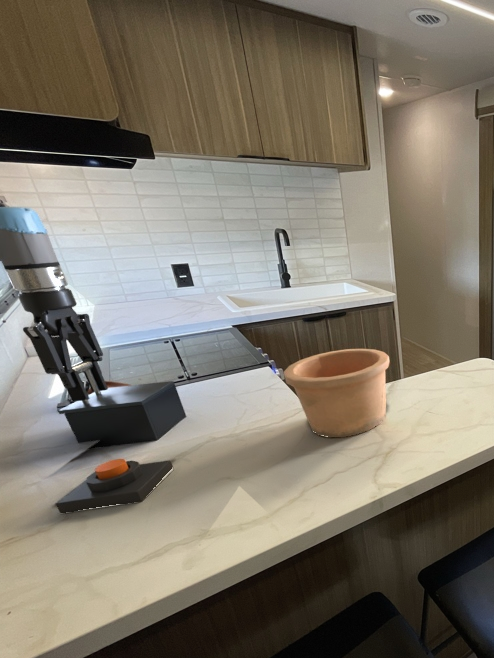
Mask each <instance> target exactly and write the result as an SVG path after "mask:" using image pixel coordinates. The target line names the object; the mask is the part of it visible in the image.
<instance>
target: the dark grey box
mask: <svg viewBox="0 0 494 658" xmlns="http://www.w3.org/2000/svg"><path fill="white" fill-rule="evenodd" d="M63 415H64V417H65V419H66V421H67V423H68V425H69V427H70V429H71V432H72V434H73V436H74V438H75V440H76V441H77V443H78V444H81V443H83V444H84V443H89V442H95V443H94V444H92V445H91V446H90V447H88V448H87V450H95V449H101V448H103V449H104V448H110V447H118V446H123V445H124V446H125V445H134V444H142V443H148V442H150V443H151V442H156V441H158V440H160V439H161V438H162V437H164V436H165V435H166V434H167V433H168V432H169V431H171V430H172V429H173V428H175V427H176V425H178V424H179V423H180V422H181V421H183V420H184V419H185V418H186V417H187V414H186V411H185V408H184V405H183V403H182V401H181V398H180V395H179V391H178V389H177V387H176V384H175V383H174V385H172V386H170V387H169V388H167V389H166V390H164V391H163V392H161V393H160V394H158V395H157V396H155V397H154V398H152V399H150V400H149V401H147V402H146V403H144V404H143V405H135V406H127V407H118V408H109V409H100V410H92V411H83V412H74V413H65V414H63Z"/></svg>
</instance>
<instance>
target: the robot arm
mask: <svg viewBox="0 0 494 658" xmlns="http://www.w3.org/2000/svg"><path fill="white" fill-rule="evenodd" d="M0 262H1V264H2V266H3V268H4V270H5V272H6V275H7V278H8V280H9V281H10V283H11V286H12V288H13V290H15V291H16V292H19V293H18V295H17V299H18V300H19V302H20V304H21V306H22V308H23V310H24V311H25V312H27V313H31V314H32V316H33V324H32V325H30V326H24V327H23V328H22V331H23V333H24V334H25V335H26V336H27V337H28V338H29V339H30V341H31V344H32V346H33V348H34V351H35V353H36V355H37V357H38V359H39V361H40V363H41V366H42V368H43V370H44V372H45V373H46V374H47V375H58V377H59V379H60V381H61V383H62V385H63V388H65V389H66V391H67V393H68V395H69V397H70V399H71V401H72V403H74V402H76V401H83V400H88V399H90V398H89V396H88V394H87V392H88V391H87V388H86V387H85V386H84V383H83V381H82V379H81V376H80V374H78V372H77V371H73V370H72V366H73V365H72V360H71V356H70V352H69V351H70V350H69V347H68V343H69V344H70V346H71V347H72V349H73V350H74V352H75V353H76V355H77V356H78V357H79V358H80V360H81V362H83V361H90V362H91V363H92V364H93V367H92V368H91V371H92V373H93V376H94V378H95V380H96V383H97V385H98V387H99V389H100V391H103V390H107V389H108V387H107V385H106V383H105V381H106V380H105V377H104V376H103V372H102V369H101V366H100V365H99V362H102V361H103V356H104V353H103V350H102V348H101V345H100V344H99V341H98V338H97V337H96V334H95V332H94V329H93V327H92V325H91V319H90V315H89V314H88V313H77V312H76V311H75V309H74V307H76V306H77V305H78V303H77V301H76V297H75V296H74V294H73V291H72V289H70V288H66V287H67V286H68V285H69V283H68V280H67V278H66V276H65V274H64V271H63V269H62V267H61V264H60V262H59V260H58V257H57V255H56V253H55V250H54V247H53V245H52V243H51V239H50V237H49V234H48V230H47V229H46V227H45V225H44V223H43V222H42V220H41V217H40V215H39V214H38V212H37V211H35V210H34V209H32V208H30V207H22V206H0ZM83 374H84V376H85V378H86V381H87V383H88V385H89V389H90V388H91V390H92V392H93V391H94V389H93V387H92V385H91V383H90V380H89V378H88V376H87V374H86V371H84V372H83Z"/></svg>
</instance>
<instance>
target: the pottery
mask: <svg viewBox="0 0 494 658" xmlns="http://www.w3.org/2000/svg"><path fill="white" fill-rule="evenodd" d="M389 366H390V356H389V355H388V354H387V353H386V352H384V351H382V350H377V349H373V348H372V349H371V348H349V349H348V348H347V349H339V350H334V351H326V352H323V353H318V354H314V355H311V356H309V357H308V356H307V357H305V358H303V359H299V360H298V361H296V362H294V363H292V364H290V365H288V366H287V368H286V369H285V370H284V371H283V376H284V379H285V383H286V384H287V385H288V386H291V387H293V388H294V391H295V393H296V396H297V398H298V401H299V403H300V406H301V407H302V410H303V412H304V414H305V417H306V419H307V422H308V424H309V427H310V429H311V431H312V430H313V431H314V432H316V433H317V434H319V435H324V436H328V437H341V438H347V437H346V436H348V437H352V436H351V435H353V436H357V435H360V434H363V433H365V431H366V432H368V431H370V429H371V430H373V429H374V428H376V427H377V426H379V425H380V424H381V423H382V422H383V421H384V420H385V419H386V416H387V401H386V400H387V395H386V394H387V393H386V387H387V386H386V370H387V369H388V368H389ZM375 426H376V427H375ZM362 432H363V433H362ZM359 433H360V434H359ZM317 434H316V435H317ZM356 434H357V435H356ZM319 435H318V436H319ZM328 437H327V438H328Z"/></svg>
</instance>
